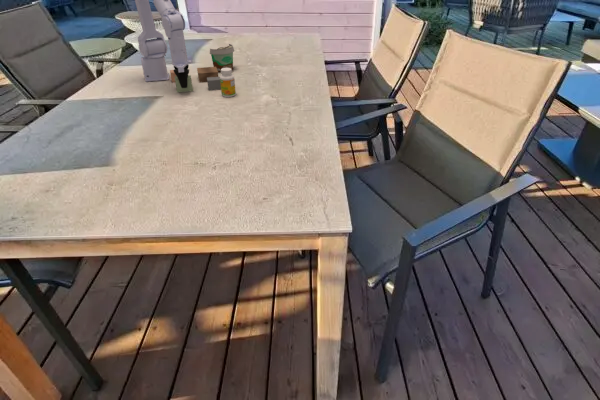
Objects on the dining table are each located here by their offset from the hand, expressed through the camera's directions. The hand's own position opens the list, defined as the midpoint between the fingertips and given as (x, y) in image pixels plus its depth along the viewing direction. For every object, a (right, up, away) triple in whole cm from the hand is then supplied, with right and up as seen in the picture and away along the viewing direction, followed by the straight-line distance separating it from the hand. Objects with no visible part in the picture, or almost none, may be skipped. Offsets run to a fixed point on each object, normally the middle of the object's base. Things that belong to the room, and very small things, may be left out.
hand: (184, 85), depth 148 cm
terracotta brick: (-5, +5, +11) cm, 13 cm away
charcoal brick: (+12, 0, +3) cm, 12 cm away
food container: (+12, +14, +23) cm, 29 cm away
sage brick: (0, -1, +1) cm, 2 cm away
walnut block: (+6, +7, +13) cm, 16 cm away
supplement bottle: (+18, -5, -3) cm, 19 cm away
